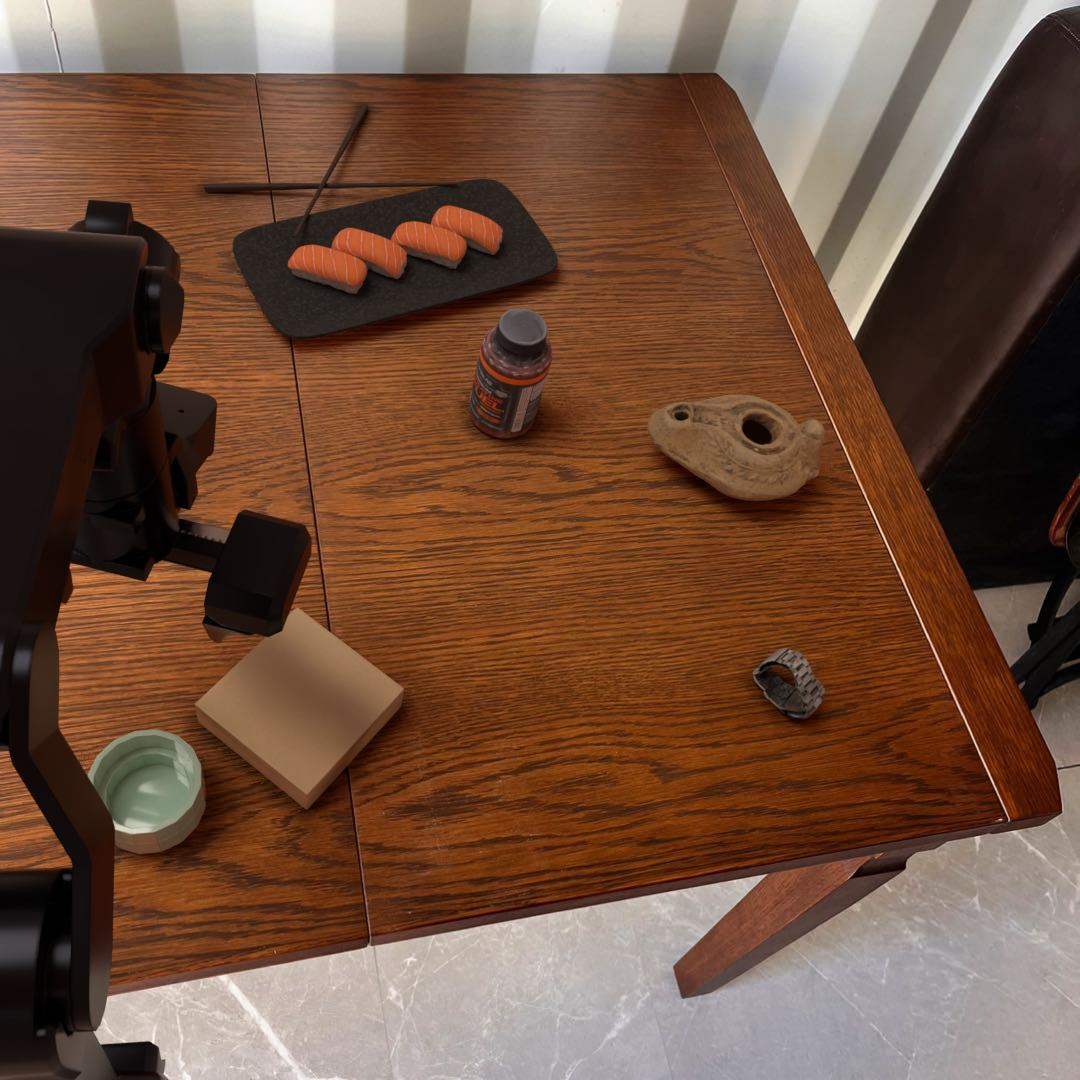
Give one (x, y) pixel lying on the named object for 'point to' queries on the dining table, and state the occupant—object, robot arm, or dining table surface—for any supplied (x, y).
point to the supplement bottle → (511, 374)
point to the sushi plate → (387, 252)
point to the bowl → (150, 789)
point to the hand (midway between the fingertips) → (143, 616)
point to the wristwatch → (784, 695)
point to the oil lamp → (740, 445)
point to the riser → (300, 707)
